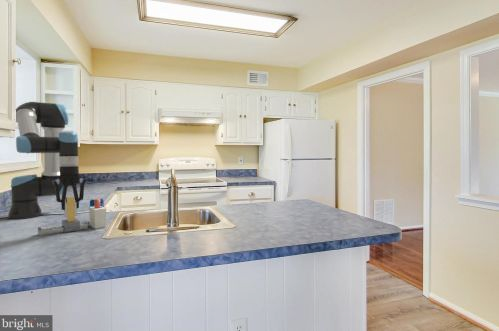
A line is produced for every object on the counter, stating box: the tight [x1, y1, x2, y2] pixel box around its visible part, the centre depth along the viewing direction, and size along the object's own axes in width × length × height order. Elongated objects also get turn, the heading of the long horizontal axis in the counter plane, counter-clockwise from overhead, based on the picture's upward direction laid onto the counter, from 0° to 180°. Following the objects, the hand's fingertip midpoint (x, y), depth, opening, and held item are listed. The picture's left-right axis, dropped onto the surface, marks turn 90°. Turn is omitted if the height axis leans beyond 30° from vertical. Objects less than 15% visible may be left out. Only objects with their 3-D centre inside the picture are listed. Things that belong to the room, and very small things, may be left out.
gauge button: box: [94, 199, 100, 209], centre depth 145 cm, size 3×3×8 cm
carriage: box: [61, 196, 81, 233], centre depth 137 cm, size 8×6×15 cm
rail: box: [37, 220, 88, 237], centre depth 136 cm, size 3×19×3 cm, turn 132°
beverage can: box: [89, 197, 105, 208], centre depth 155 cm, size 6×6×12 cm
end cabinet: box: [88, 206, 107, 229], centre depth 145 cm, size 10×5×9 cm, turn 42°
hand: (70, 216), depth 137 cm, fingers closed on carriage, 3 cm apart
